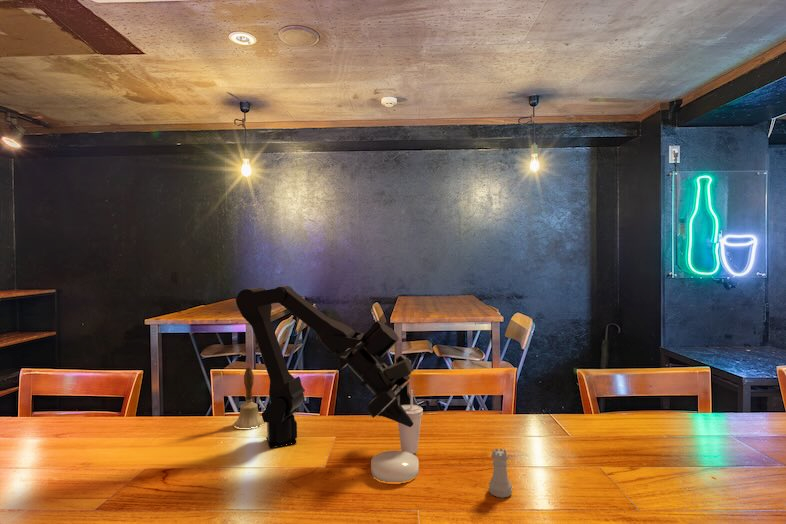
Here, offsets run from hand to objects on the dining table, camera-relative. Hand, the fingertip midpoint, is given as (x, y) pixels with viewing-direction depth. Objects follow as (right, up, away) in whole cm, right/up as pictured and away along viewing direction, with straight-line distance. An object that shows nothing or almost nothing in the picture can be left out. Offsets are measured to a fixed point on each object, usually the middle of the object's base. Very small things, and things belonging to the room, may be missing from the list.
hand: (415, 420), depth 103 cm
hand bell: (-45, -9, +21) cm, 50 cm away
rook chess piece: (+16, -8, -17) cm, 25 cm away
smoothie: (-1, -7, 0) cm, 7 cm away
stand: (-5, -8, -9) cm, 13 cm away
